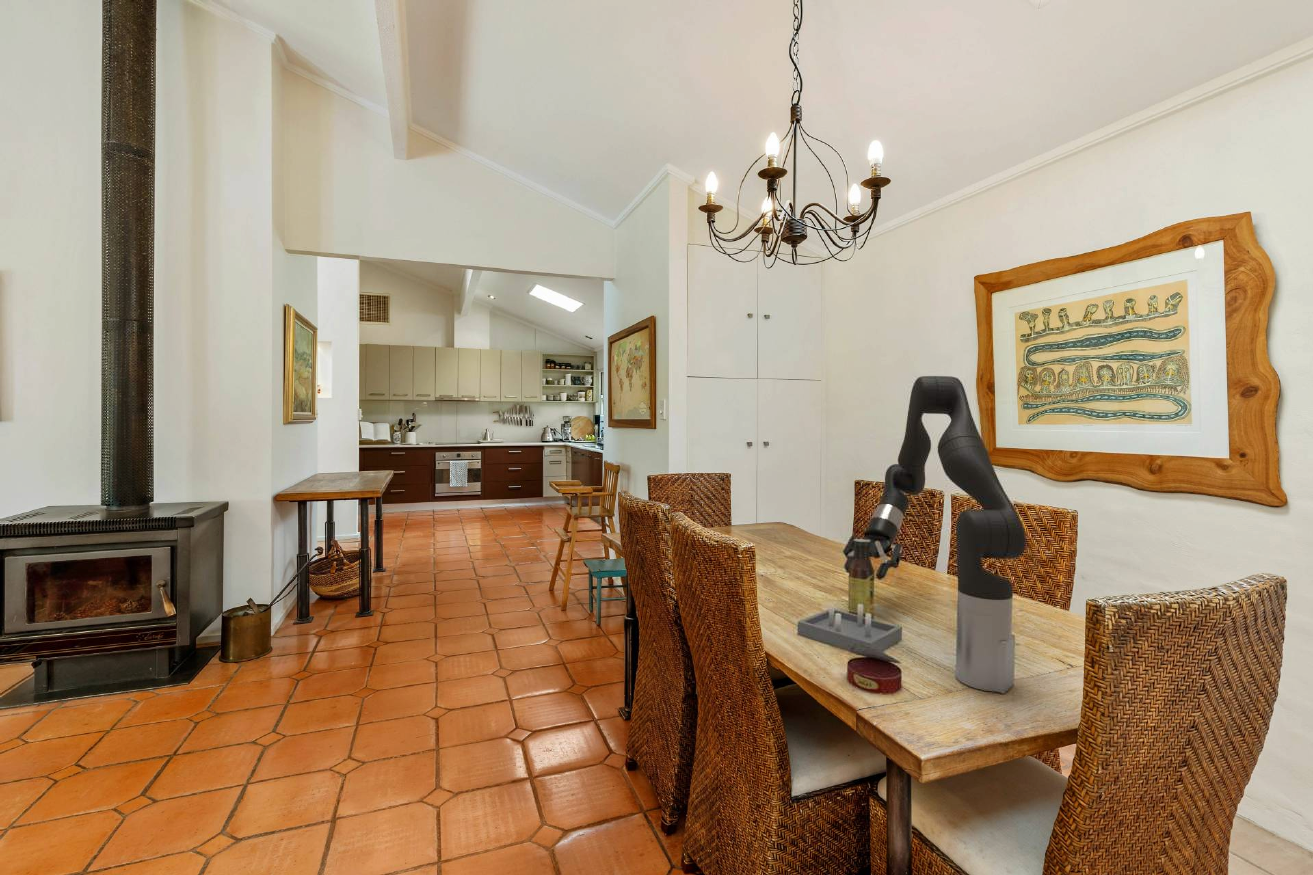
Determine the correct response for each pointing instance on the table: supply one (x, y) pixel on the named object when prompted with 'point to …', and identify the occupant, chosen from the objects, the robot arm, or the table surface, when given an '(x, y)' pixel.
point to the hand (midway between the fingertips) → (862, 574)
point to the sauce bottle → (861, 579)
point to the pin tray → (849, 629)
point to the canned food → (873, 670)
